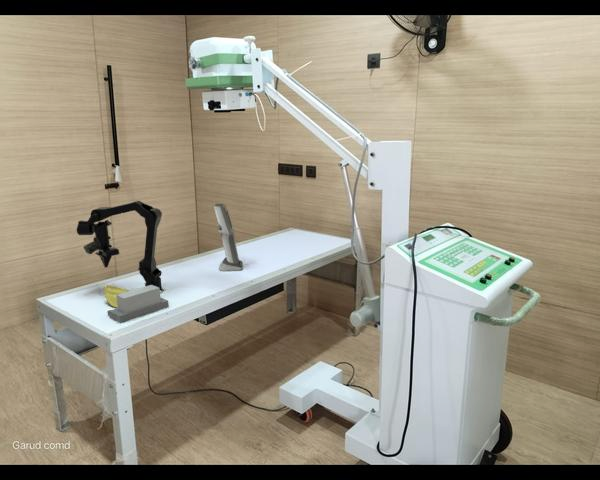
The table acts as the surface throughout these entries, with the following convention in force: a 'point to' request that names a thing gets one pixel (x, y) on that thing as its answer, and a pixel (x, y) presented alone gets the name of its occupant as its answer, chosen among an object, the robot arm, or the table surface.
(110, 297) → the yellow long curved piece
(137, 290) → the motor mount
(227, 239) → the grey tall upright piece
